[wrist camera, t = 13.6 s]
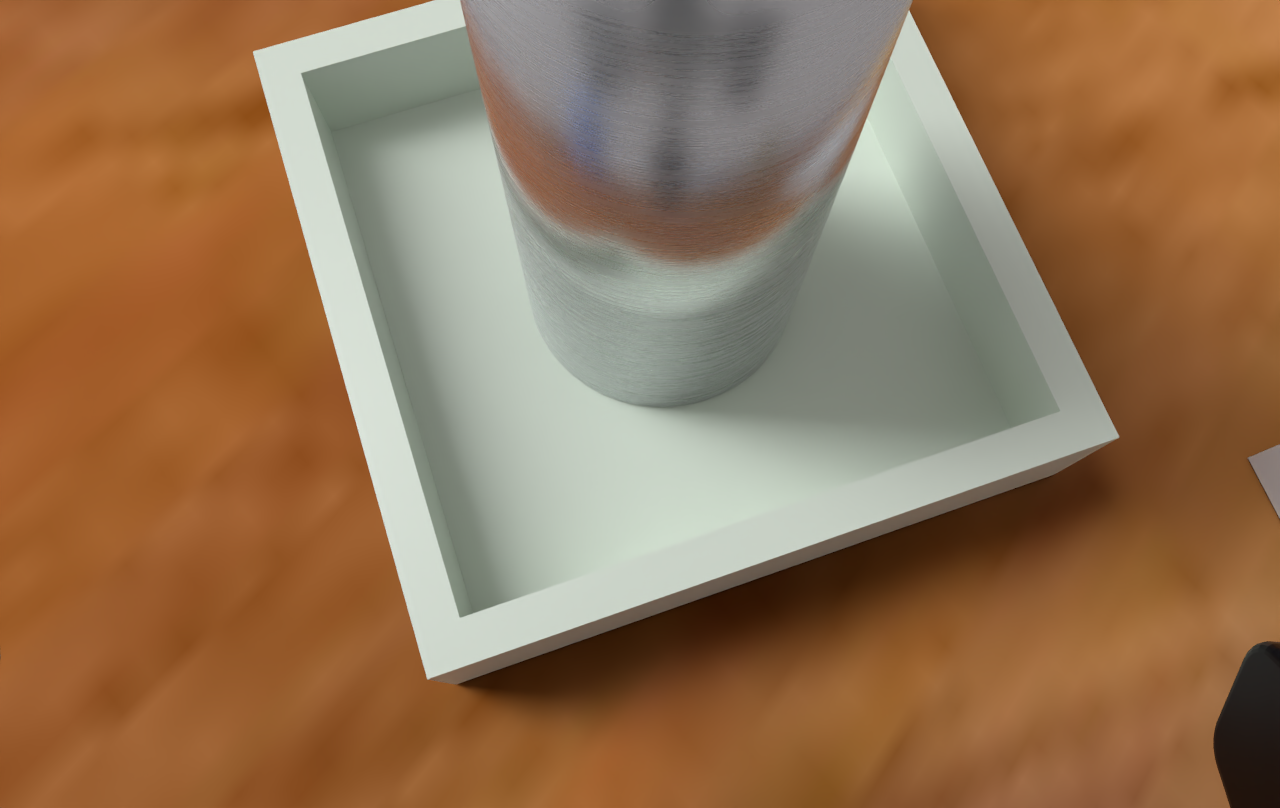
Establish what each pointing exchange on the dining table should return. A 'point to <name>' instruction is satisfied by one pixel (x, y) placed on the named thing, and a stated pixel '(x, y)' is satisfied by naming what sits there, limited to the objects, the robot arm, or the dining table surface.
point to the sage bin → (641, 435)
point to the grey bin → (1269, 473)
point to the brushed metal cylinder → (673, 171)
